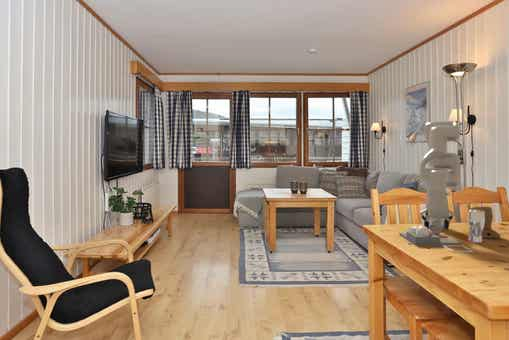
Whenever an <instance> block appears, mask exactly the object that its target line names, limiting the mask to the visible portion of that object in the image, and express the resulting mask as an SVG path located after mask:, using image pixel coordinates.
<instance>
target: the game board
mask: <svg viewBox="0 0 509 340" xmlns="http://www.w3.org/2000/svg"><path fill="white" fill-rule="evenodd" d="M418 227H419V226H417V225H416V226H415V225H412V226H410V225H409V226H408V230H406V232H399V234H398V235H399V236H400V237H401V238H404V239H405V240H407V241H408V242H410V243H411V245H414V246H415V247H417V246H418V247H443V248H445V249H447V250H448V251H450V252H452V253H475V251H474V250H472V249H470V248H469V247H466V246H465V245H463V243H461V242H459V241H458V240H455V239H453V238H452V237H449V236H447V235H446V234H443V233H442V232H441V233H440V234H438V235H435V234H433V233H432V232H431V231H430V236H418V235H416V229H417V228H418ZM449 247H462V248H464V249H465V250H453V249H451V248H449Z"/></svg>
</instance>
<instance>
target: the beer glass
mask: <svg viewBox="0 0 509 340" xmlns="http://www.w3.org/2000/svg"><path fill="white" fill-rule="evenodd" d="M484 223H485V211H483V210H471V209H469V210H468V215H467V225H468V233H469V234H468V239H467V241H468V242H469V243H473V244H482V243H483V237H482V232H483V228H484Z"/></svg>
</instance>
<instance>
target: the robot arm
mask: <svg viewBox="0 0 509 340" xmlns="http://www.w3.org/2000/svg"><path fill="white" fill-rule="evenodd" d="M423 132H424V137H425V140H426V143H427V145H428V152H427V153H426V154H424V156H423V157H422V159H421V160H420V163H419V171H418V172H419V175H418V176H419V178H418V179H419V181H421V183H425V193H426V194H425V208H424V209H422V210H420V211H419V212H418V214H419V216H420V218H421V219H422V220H423V221H424V222H423V223H422V225H421V226H425V227H427V228H428V229H429V230H430V228H429V226H430V224H431V223H432V221H433V222H434V221H438V222H439V223H440V224H441V225H442V227H443V229H442V230H444V229H445V230H449V228H450V222H451V221H452V220H453V218H454V216H455V214H456V212H455V211H452V210H450V208H449V201H448V197H447V196H449V195H450V193H449V192H447V189H457V188H459V187H460V186H461V158H460V155H459V154H458V153H456V152H448V142H458V141H459V139H460V135H461V130H460V125H459V123H458V122H457V121H456V120H450V121H448V120H447V121H446V120H444V121H442V120H441V121H440V120H439V121H429V122H426V123H425V124H424V128H423ZM427 164H428V166H429V168H426V166H427Z"/></svg>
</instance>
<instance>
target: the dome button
mask: <svg viewBox="0 0 509 340" xmlns="http://www.w3.org/2000/svg"><path fill="white" fill-rule="evenodd" d="M417 227H418V228H417V229H416V235H418V236H430V232H431V230H430V228H429V229H428V228H427V227H425V226H422V225H419V226H417Z"/></svg>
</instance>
